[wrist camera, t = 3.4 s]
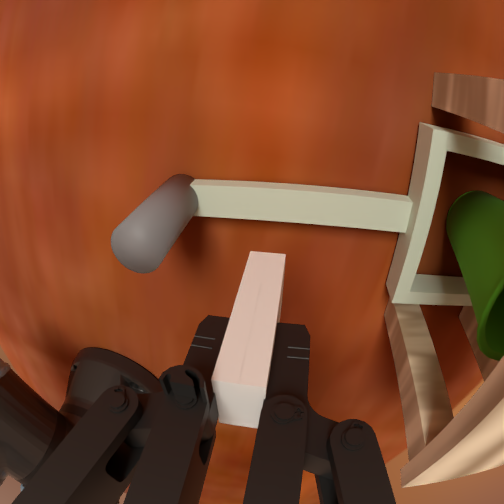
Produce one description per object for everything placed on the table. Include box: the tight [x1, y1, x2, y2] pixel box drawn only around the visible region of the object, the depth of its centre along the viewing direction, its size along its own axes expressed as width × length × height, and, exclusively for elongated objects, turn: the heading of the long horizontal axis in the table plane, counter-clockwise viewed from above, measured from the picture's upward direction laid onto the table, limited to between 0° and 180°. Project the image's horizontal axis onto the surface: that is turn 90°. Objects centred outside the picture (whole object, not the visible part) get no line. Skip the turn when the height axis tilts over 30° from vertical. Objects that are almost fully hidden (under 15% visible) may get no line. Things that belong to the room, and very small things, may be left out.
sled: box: [111, 122, 504, 306], centre depth 18 cm, size 31×13×8 cm, turn 90°
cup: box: [446, 191, 504, 361], centre depth 16 cm, size 9×9×11 cm
